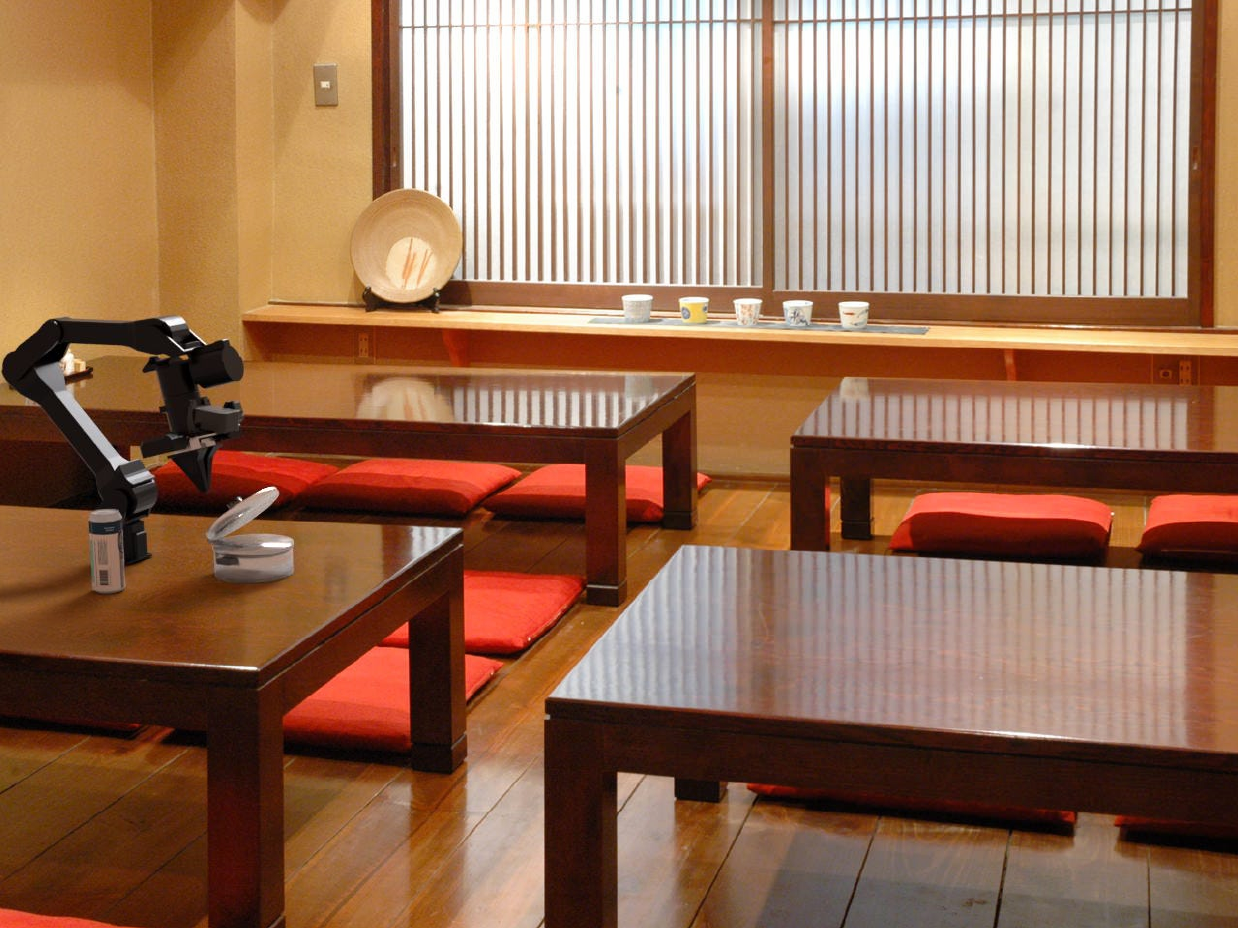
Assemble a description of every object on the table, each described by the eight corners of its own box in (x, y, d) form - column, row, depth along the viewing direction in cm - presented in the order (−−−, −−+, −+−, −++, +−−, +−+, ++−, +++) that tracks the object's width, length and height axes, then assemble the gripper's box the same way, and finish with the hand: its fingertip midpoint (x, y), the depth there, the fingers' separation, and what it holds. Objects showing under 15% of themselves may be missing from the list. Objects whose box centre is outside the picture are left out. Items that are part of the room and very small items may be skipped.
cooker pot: (189, 581, 242) (188, 550, 241) (250, 557, 257) (249, 528, 256) (258, 589, 238) (257, 558, 237) (316, 565, 252) (315, 535, 251)
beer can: (132, 590, 237) (128, 511, 235) (103, 596, 233) (98, 516, 231) (114, 584, 240) (110, 506, 238) (85, 590, 236) (81, 511, 234)
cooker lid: (189, 551, 243) (179, 536, 243) (238, 533, 255) (228, 519, 255) (246, 500, 238) (235, 485, 238) (293, 485, 249) (283, 470, 250)
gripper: (186, 391, 235) (211, 493, 236) (258, 379, 252) (281, 474, 253) (127, 406, 239) (152, 506, 240) (201, 393, 256) (225, 487, 257)
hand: (205, 492), depth 248 cm, fingers closed
